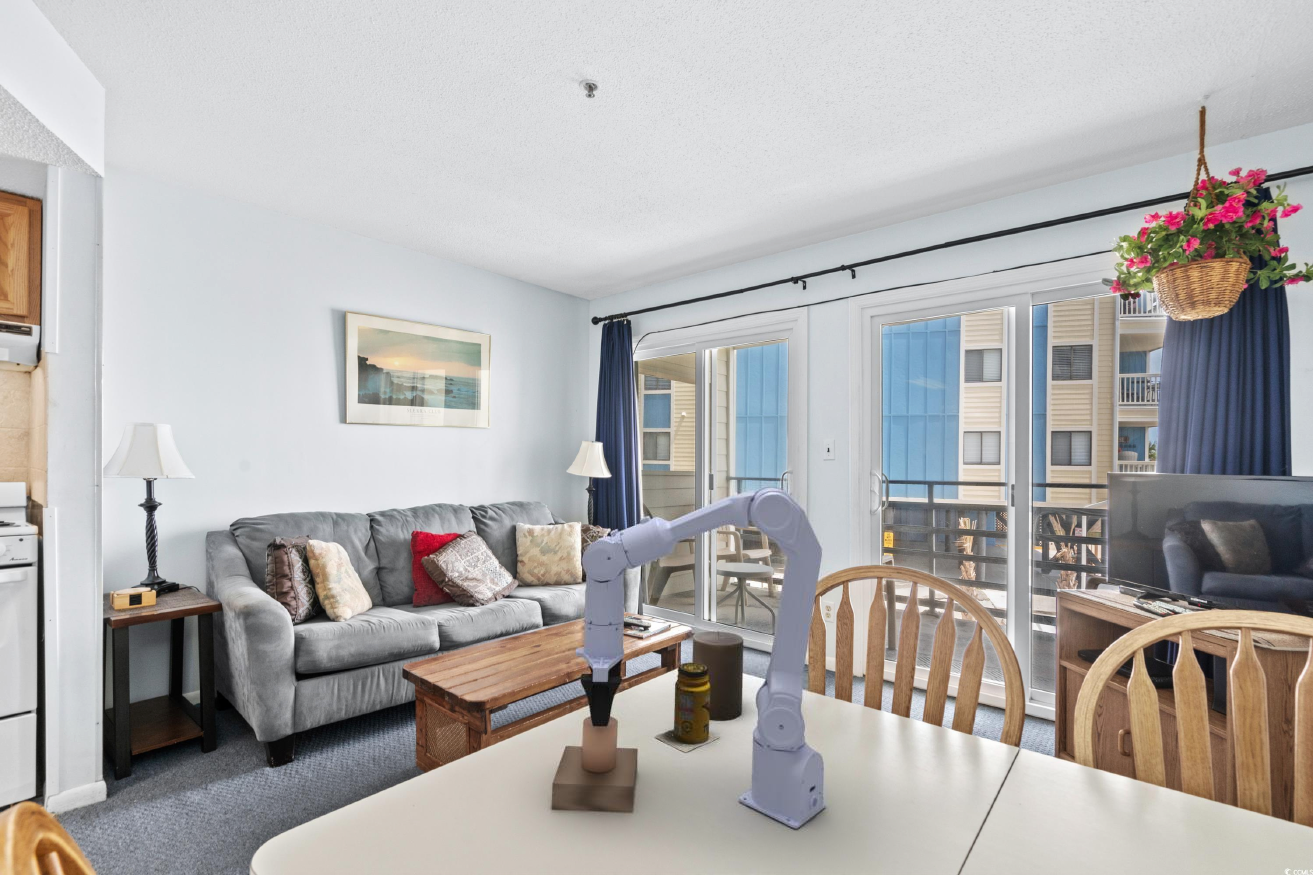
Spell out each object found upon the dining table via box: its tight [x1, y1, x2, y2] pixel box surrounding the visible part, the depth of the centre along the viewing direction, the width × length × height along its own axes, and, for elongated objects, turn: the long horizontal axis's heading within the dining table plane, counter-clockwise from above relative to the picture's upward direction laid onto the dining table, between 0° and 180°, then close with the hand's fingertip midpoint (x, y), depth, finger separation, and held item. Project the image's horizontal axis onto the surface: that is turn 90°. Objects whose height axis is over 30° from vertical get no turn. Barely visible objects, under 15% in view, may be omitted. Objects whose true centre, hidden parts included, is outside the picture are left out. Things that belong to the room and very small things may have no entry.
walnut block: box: [551, 745, 639, 814], centre depth 93 cm, size 11×11×4 cm
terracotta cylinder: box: [581, 715, 619, 772], centre depth 93 cm, size 5×5×6 cm
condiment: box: [654, 662, 720, 753], centre depth 110 cm, size 7×8×12 cm
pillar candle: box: [691, 630, 744, 721], centre depth 122 cm, size 10×10×15 cm
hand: (601, 713), depth 94 cm, fingers open, 7 cm apart
